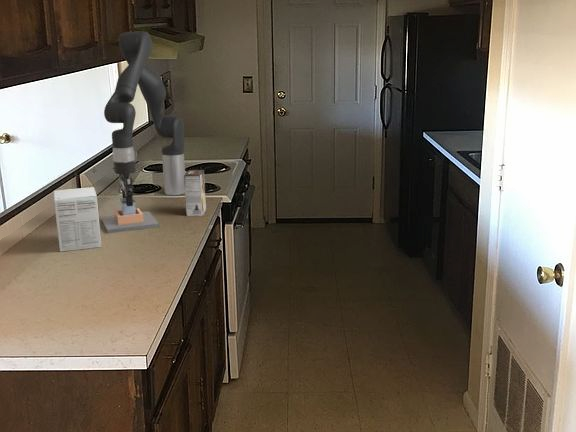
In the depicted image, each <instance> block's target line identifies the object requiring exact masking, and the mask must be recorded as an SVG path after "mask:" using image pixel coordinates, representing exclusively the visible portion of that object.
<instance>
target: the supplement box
mask: <svg viewBox="0 0 576 432" xmlns="http://www.w3.org/2000/svg"><path fill="white" fill-rule="evenodd" d="M53 203H54V211H55V220H56V221H55V222H56V230H57V237H58V244H59V251H60V252H61V253H62V252H69V251H79V250H85V249H95V248H97V249H98V248H101V247H102V238H101V228H100V218H99V217H100V216H99V209H98V208H99V207H98V196H97V192H96V190H95V187H93V186H91V187H81V188H79V187H77V188H70V189H66V188H65V189H58V190H57V189H56V190H53Z"/></svg>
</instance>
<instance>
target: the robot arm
mask: <svg viewBox="0 0 576 432" xmlns="http://www.w3.org/2000/svg"><path fill="white" fill-rule="evenodd" d="M118 45H119V48H120V51H121V54H122V56H123V58H124V60H125V62H126V63H127V66H126V68H124V69H123V70H122V72H121V73H120V74H119V77H118V79H117V80H116V86H115V89H114V92H113V94H112V95H111V96H110V98H109V99H108V101H107V102H106V104H105V107H104V112H103V115H104V118H105V120H106V122H108V123H110V124H123V127H122V128H119V129H115V130H113V131H112V133H111V143H112V163H113V169H114V170H113V171H114V173H115V174H117V175H119V187H120V190H121V195H122V197H121V198H126V205H127V206H133V198H134V194H135V192H134V185H133V178H132V177H131V174H133V173H135V172H136V171H137V169H136V156H135V155H136V154H135V149H134V143H133V132H134V131H133V130H134V124H135V119H136V108H135V106H134V105H133V104H132V102H133V101H134V100H135V96H136V92H137V87H139V90H140V92H141V94H142V96H143V99H144V100H145V103H146V104H147V107H148V108H147V109H148V110H149V112H150V113H149V114H150V115H151V118H152V122H153V125H154V127H155V130H156V133H157V135H158V136H159V137H161V138H166V139H167V138H168V139H172V142H171V143H170V144H167V145H164V146H162V148H161V159H162V172H163V174H162V175H163V189H164V194H165V195H167V196H178V195H184V194H185V180H184V175H185V174H186V170H185V169H186V168H185V154H184V153H185V152H184V151H185V149H184V148H185V124H184V120H183V117H182V116H178V115H165V113H164V111H163V109H162V108H163V105H164V102H165V100H166V97H167V96H166V95H167V90H166V88H165V85H164V81H163V80H162V77H161V76H160V75H159V74H158V73H157V72H156V71H155V70H153V68H151V67H149V65H147V63H148V60H149V58H150V56H151V54H152V50H153V41H152V37H151V35H150V33H149V32H147V31H146V30H145V31H143V30H141V31H140V30H139V31H125V32H122V33H120V35H119V37H118ZM132 197H133V198H132Z"/></svg>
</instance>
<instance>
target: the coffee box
mask: <svg viewBox="0 0 576 432" xmlns="http://www.w3.org/2000/svg"><path fill="white" fill-rule="evenodd" d="M184 180H185V193H184V194H185V213H186V217H198V216H199V217H200V216H201V217H202V216H204V215H205V212H206V210H207V203H206V182H205V169H187V172H186V171H185V175H184Z"/></svg>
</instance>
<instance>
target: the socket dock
mask: <svg viewBox="0 0 576 432" xmlns="http://www.w3.org/2000/svg"><path fill="white" fill-rule="evenodd" d="M135 208H136V214H131V215H123V216H122V213H121V209H116V210H115V209H114V210H113V214H114V215H113V214H112V215H105V216H104V215H103V216H100V220H101V222H102V225H103V227H104V229H105V231H106V233H107V234H112V233H121V232H128V231H137V230H144V229H152V228H153V229H154V228H158V227H160V225H159V222H158V221H157V219H156V218H155V217H154V216H153V214H152V213H151V212H150V211H149V210H147V211H141V209H140V208H139V207H135Z"/></svg>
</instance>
